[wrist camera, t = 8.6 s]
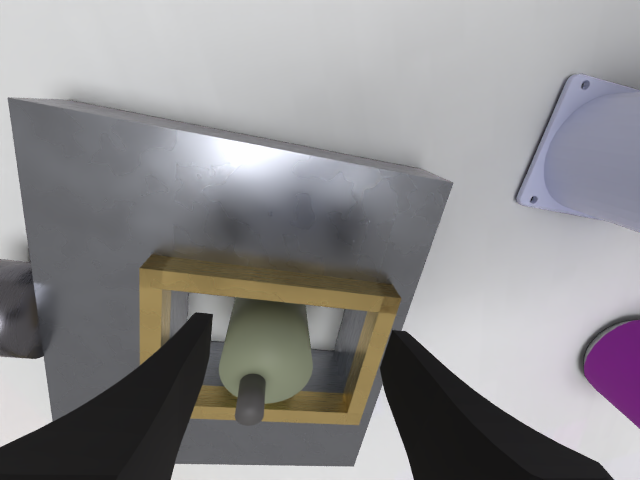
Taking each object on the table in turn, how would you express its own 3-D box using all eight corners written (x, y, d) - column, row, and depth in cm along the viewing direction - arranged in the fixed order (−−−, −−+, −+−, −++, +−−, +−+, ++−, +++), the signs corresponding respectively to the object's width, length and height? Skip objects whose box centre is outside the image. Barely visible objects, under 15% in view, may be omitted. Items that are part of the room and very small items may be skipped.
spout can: (319, 301, 23) (337, 391, 16) (274, 345, 24) (272, 449, 17) (264, 261, 21) (256, 342, 14) (219, 311, 22) (189, 410, 15)
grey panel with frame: (421, 169, 20) (469, 189, 15) (344, 419, 28) (357, 488, 23) (1, 86, 16) (-127, 76, 11) (47, 406, 24) (-15, 486, 19)
